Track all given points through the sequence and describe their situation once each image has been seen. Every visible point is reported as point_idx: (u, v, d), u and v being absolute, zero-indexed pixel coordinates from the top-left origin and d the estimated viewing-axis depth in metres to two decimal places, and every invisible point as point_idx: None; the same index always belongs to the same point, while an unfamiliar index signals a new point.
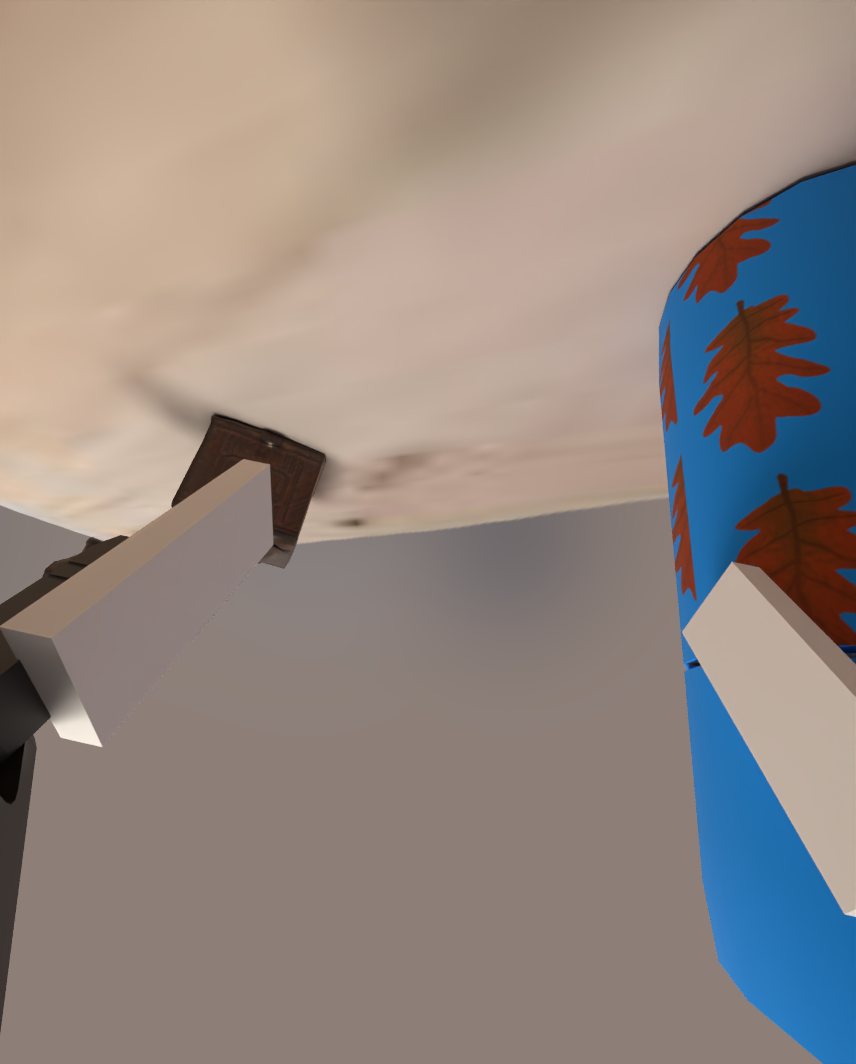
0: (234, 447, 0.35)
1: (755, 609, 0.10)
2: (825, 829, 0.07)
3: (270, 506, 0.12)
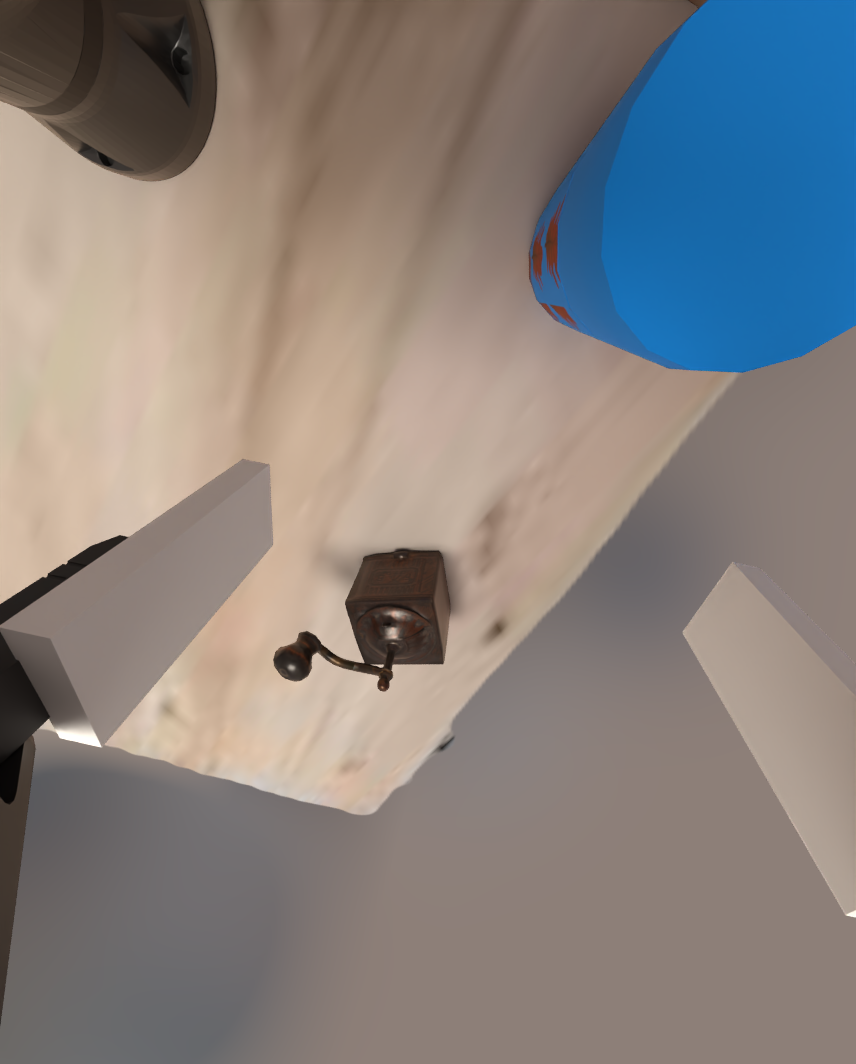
0: (378, 566, 0.49)
1: (755, 609, 0.10)
2: (826, 830, 0.07)
3: (269, 506, 0.12)
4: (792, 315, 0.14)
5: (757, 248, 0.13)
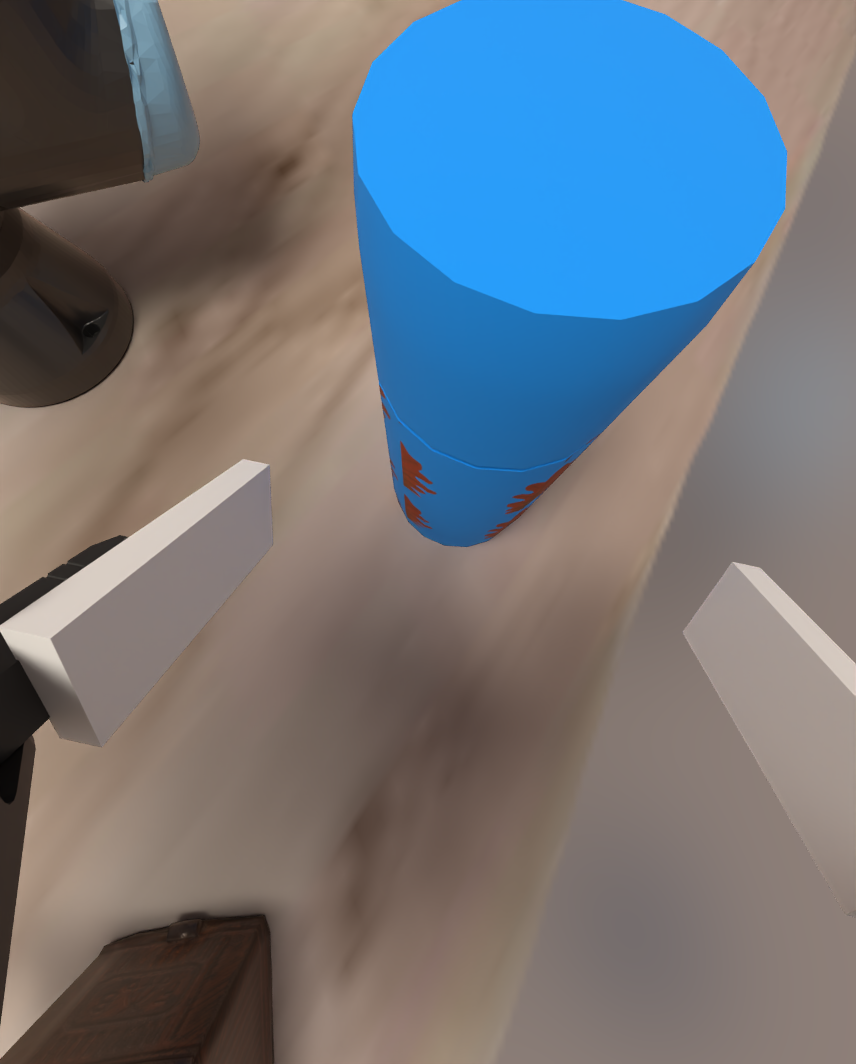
0: (122, 965, 0.24)
1: (755, 609, 0.10)
2: (826, 830, 0.07)
3: (270, 506, 0.12)
4: (652, 250, 0.09)
5: (567, 180, 0.09)
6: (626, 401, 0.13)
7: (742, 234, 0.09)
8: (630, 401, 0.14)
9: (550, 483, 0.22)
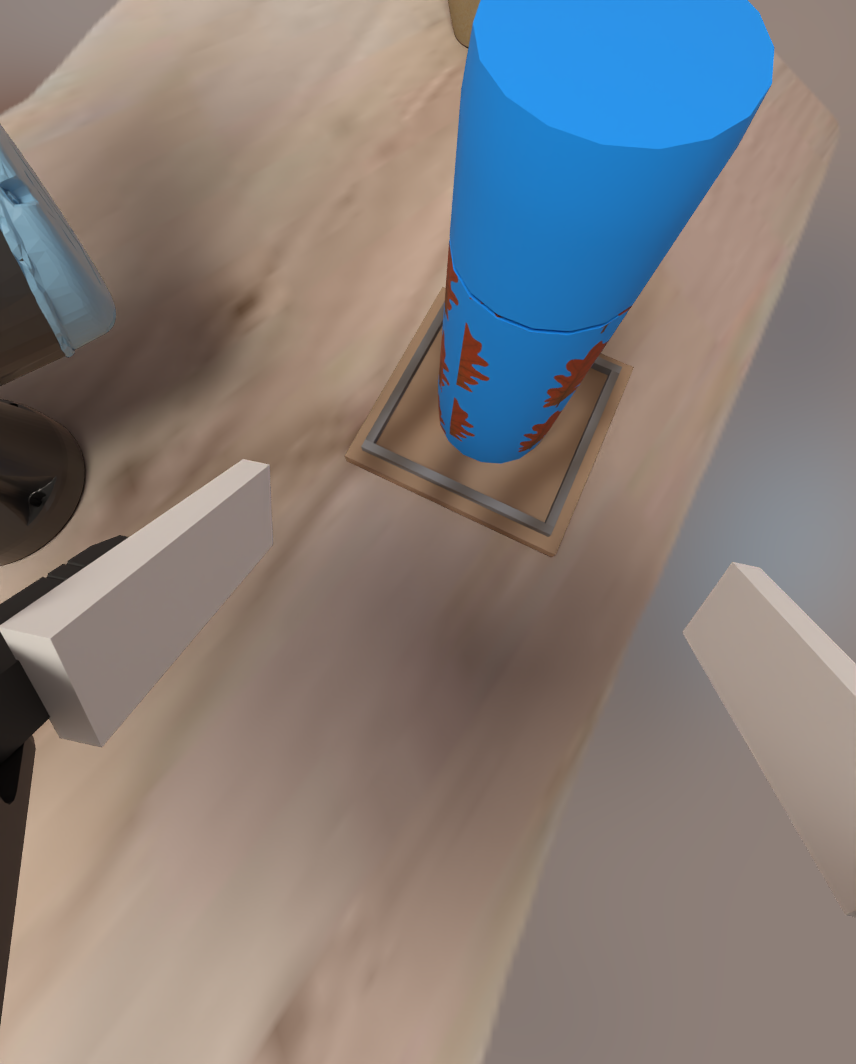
0: None
1: (755, 609, 0.10)
2: (826, 830, 0.07)
3: (269, 506, 0.12)
4: (680, 108, 0.13)
5: (621, 64, 0.13)
6: (655, 258, 0.17)
7: (741, 99, 0.13)
8: (657, 263, 0.18)
9: (583, 374, 0.26)
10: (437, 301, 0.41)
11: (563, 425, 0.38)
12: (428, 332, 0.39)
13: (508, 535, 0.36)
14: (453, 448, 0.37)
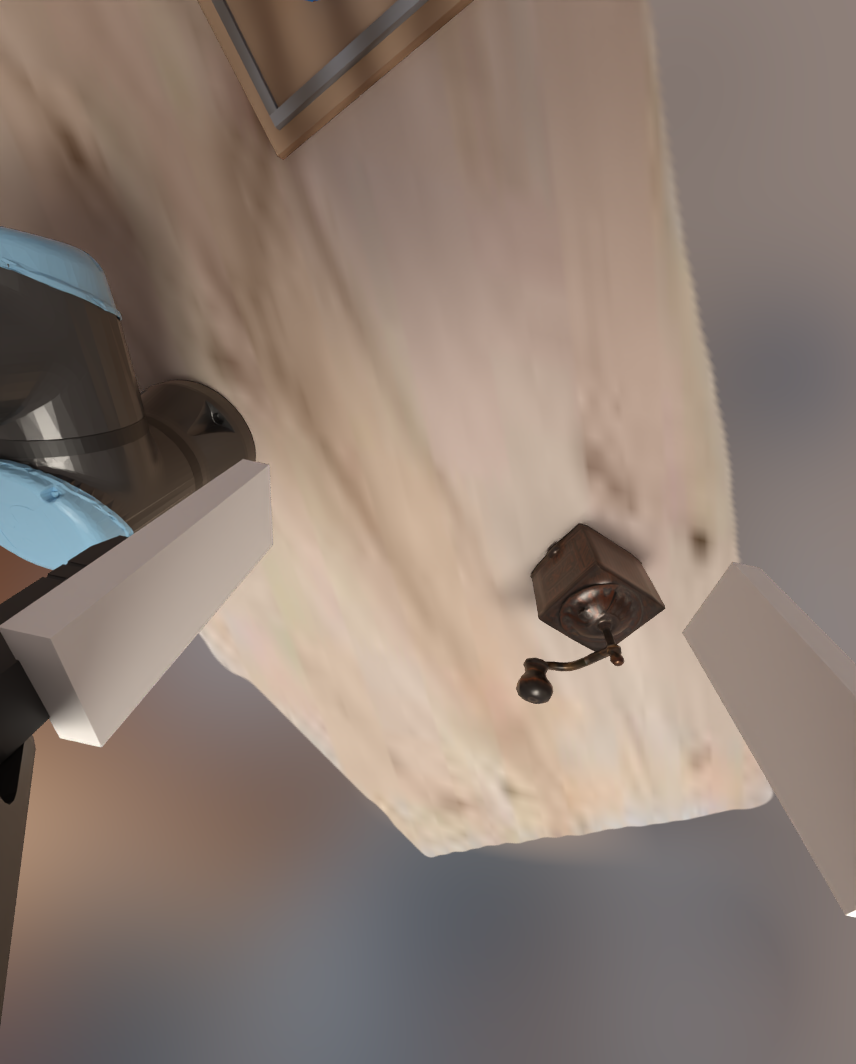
0: (544, 572, 0.53)
1: (755, 609, 0.10)
2: (826, 830, 0.07)
3: (270, 506, 0.12)
4: None
5: None
6: None
7: None
8: None
9: None
10: None
11: None
12: None
13: (447, 18, 0.30)
14: (323, 2, 0.30)
